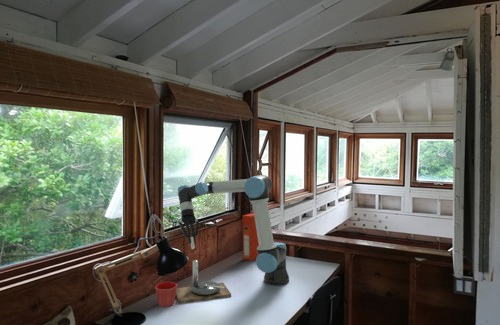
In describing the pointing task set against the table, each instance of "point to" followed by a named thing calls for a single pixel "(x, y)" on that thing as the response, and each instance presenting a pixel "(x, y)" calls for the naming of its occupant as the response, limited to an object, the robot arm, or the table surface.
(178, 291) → the walnut base board
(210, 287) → the wheel
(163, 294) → the flower pot
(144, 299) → the table surface
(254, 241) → the file binder
